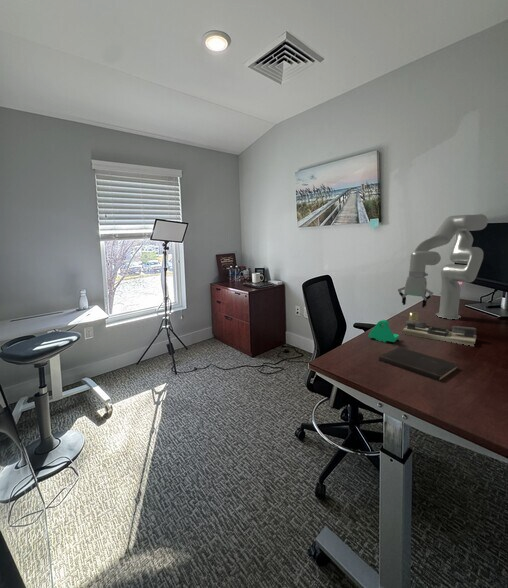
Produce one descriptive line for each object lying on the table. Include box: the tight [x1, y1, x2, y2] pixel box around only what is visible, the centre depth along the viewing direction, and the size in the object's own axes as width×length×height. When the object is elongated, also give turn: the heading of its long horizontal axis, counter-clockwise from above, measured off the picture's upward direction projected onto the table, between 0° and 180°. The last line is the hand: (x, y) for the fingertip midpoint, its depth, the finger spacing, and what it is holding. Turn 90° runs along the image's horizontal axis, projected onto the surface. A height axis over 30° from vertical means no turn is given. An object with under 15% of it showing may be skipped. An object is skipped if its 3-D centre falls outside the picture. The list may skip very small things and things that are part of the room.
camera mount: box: [368, 319, 400, 343], centre depth 146 cm, size 12×8×10 cm, turn 47°
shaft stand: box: [401, 319, 477, 347], centre depth 148 cm, size 11×30×6 cm, turn 50°
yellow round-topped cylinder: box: [408, 311, 419, 322], centre depth 167 cm, size 5×4×7 cm
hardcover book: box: [378, 346, 459, 382], centre depth 119 cm, size 16×23×2 cm
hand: (413, 305), depth 165 cm, fingers open, 9 cm apart
